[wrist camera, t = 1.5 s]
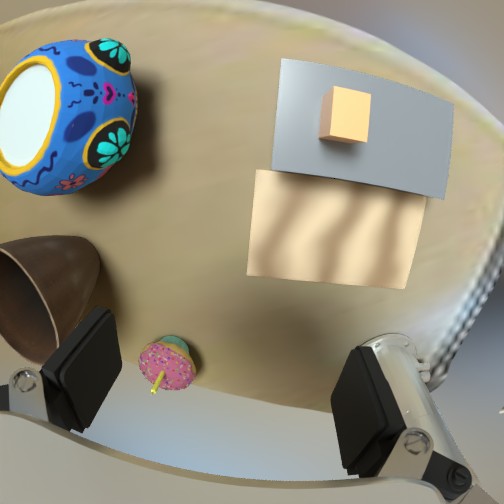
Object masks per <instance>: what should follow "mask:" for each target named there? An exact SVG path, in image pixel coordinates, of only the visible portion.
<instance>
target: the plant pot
mask: <svg viewBox="0 0 504 504" xmlns="http://www.w3.org/2000/svg"><path fill="white" fill-rule="evenodd" d="M99 272H100V260H99V257H98V254H97V252H96V250H95V248H94V247H93V246H92V244H91V243H90V242H89V241H87V240H86V239H84V238H81V237H76V236H62V235H53V236H38V237H30V238H24V239H19V240H14V241H10V242H6V243H3V244H0V336H1V337H2V339H3V340H4V341H5V342H6V343H7V344H8V345H9V346H10V348H11V349H13V350H14V351H15V352H16V353H17V354H18V355H20V356H21V357H23V358H24V359H26V360H27V361H29V362H31V363H33V364H36V365H40V366H43V365H44V364H45V362H46V361H47V360H48V359H49V358H50V357H51V355H52V354H53V353H54V352H55V351H56V350H57V348H58V347H59V346H60V345H61V344H62V343H63V342H64V341H65V339H66V338H67V337H68V336H69V335H70V334H71V333H72V332H73V331H74V329H75V327H76V325H77V323H78V321H79V320H80V318H81V316H82V314H83V312H84V309H85V307H86V305H87V303H88V301H89V299H90V297H91V294H92V292H93V289H94V287H95V284H96V281H97V279H98V276H99Z"/></svg>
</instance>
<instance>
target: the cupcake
mask: <svg viewBox="0 0 504 504" xmlns="http://www.w3.org/2000/svg"><path fill="white" fill-rule="evenodd" d="M138 362H139V367H140V370H141V371H142V373H143V375H144V376H145V378H146V379H148V381H150V382H151V383H153V384H154V386H153V387H152V390H151V396H152V395H153V394H155V393H156V391H157V389H158V387H160V388H162V389H165V390H173V391H175V390H180V389H185V388H186V387H188V386H189V385H190V384H192V383H191V382H192V381H193V379H194V378H195V375H196V372H197V371H196V368H195V365H194V363H193V360H192V358H191V357H190V355H189V348H188V346H187V344H186V343H185V342H184V341H183V340H181V339H180V338H178V337H175V336H166V337H164V338H162V339H161V340H160V341H158V342H155V343H149V344H147V345H146V346H145V347H144V348H143V349H142V351H141V354H140V359H139V361H138Z"/></svg>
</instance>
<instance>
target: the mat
mask: <svg viewBox="0 0 504 504" xmlns="http://www.w3.org/2000/svg"><path fill="white" fill-rule="evenodd" d="M426 198H427V197H425V196H421V195H417V194H412V193H408V192H403V191H398V190H393V189H388V188H383V187H378V186H373V185H367V184H362V183H356V182H350V181H344V180H338V179H331V178H324V177H318V176H310V175H303V174H295V173H286V172H278V171H268V170H258V169H257V170H256V180H255V191H254V202H253V212H252V223H251V234H250V245H249V255H248V266H247V275H251V276H261V277H271V278H281V279H291V280H302V281H313V282H324V283H336V284H348V285H360V286H373V287H387V288H401V289H404V288H405V285H406V282H407V279H408V275H409V272H410V268H411V265H412V261H413V257H414V253H415V249H416V245H417V241H418V237H419V233H420V228H421V224H422V219H423V214H424V209H425V204H426Z"/></svg>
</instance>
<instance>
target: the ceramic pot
mask: <svg viewBox="0 0 504 504" xmlns="http://www.w3.org/2000/svg"><path fill="white" fill-rule="evenodd" d="M130 64H131V59H130V54H129V52H128V50H127V48H126V47H125V46H124V45H123V44H122V43H120V42H119V41H117V40H113V39H100V40H96V41H93V42H91V41H86V40H67V41H61V42H56V43H51V44H47V45H45V46H42V47H40V48H38V49H36V50H35V51H33V52H32V53H30V54H28V55H27V56H25V57H24V58H23V59H22V60H21V61H20V62H19V63H18V64H17V65H16V66H15V67H14V68H13V69H12V70H11V71H10V72H9V74H8V75H7V77H6V78H5V80H4V82H3V83H2V85H1V86H0V172H1V174H2V175H3V176H4V177H5V178H6V179H8V180H9V181H10V182H11V183H12V184H14V185H15V186H16V187H17V188H19V189H21V190H23V191H26V192H30V193H33V194H37V195H41V196H55V195H64V194H71V193H74V192H76V191H77V190H79V189H81V188H83V187H84V186H86V185H88V184H90V183H92V182H94V181H96V180H97V179H99V178H101V177H102V176H103V175H104V174H105V173H106V172H107V171H108V170H109V169H110V168H111V167H112V166H113V165H114V164H115V163H116V162H118V161H119V160H120V159H121V158H122V157H123V156H124V155H125V153H126V152H127V150H128V148H129V145H130V141H131V134H132V132H133V128H134V125H135V121H136V117H137V115H138V93H137V89H136V87H135V84H134V81H133V78H132V76H131V73H130Z"/></svg>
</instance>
